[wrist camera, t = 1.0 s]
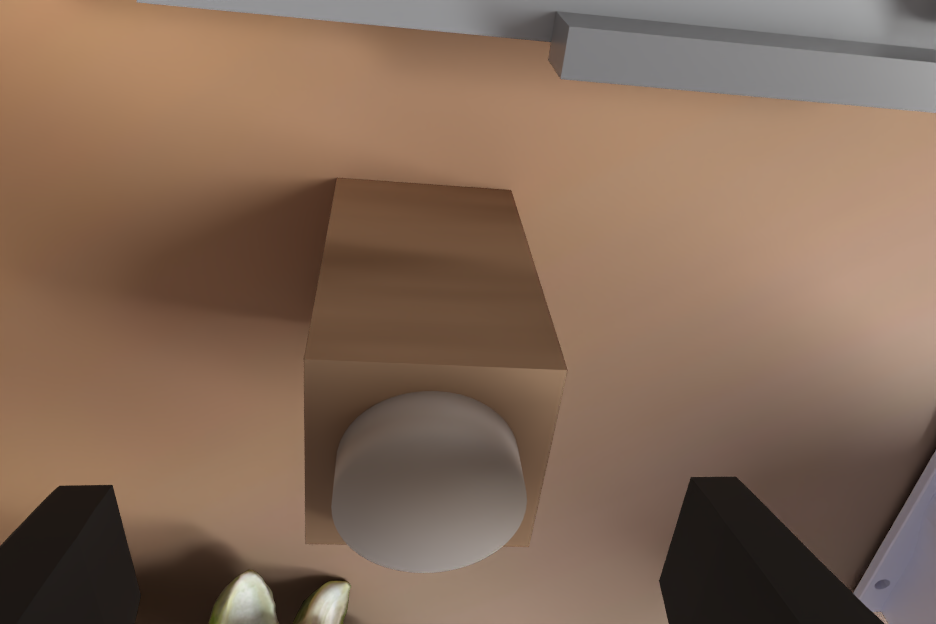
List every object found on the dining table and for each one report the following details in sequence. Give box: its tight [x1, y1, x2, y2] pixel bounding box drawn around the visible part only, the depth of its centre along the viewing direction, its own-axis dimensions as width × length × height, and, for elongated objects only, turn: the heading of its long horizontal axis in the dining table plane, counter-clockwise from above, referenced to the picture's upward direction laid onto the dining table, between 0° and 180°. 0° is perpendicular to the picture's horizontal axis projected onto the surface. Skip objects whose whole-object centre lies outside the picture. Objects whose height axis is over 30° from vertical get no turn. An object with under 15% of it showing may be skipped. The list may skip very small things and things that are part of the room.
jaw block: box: [304, 178, 568, 573], centre depth 15 cm, size 4×4×8 cm
